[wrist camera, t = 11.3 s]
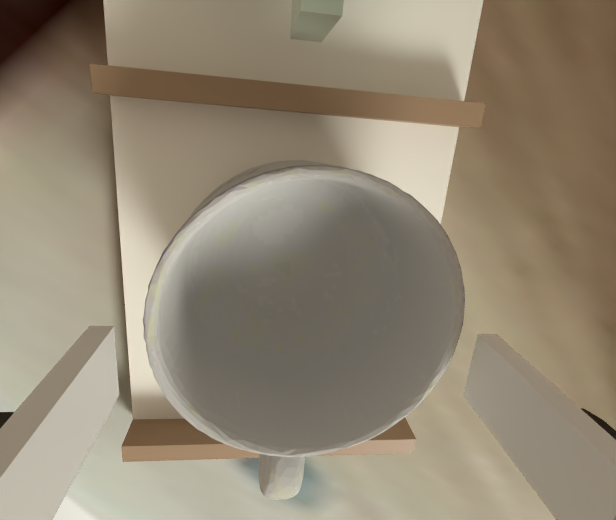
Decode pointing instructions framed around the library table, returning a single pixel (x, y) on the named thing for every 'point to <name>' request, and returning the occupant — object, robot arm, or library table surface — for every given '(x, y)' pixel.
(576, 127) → the library table surface
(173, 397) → the teacup
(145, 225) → the beige tray
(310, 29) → the pale green cup
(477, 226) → the library table surface
